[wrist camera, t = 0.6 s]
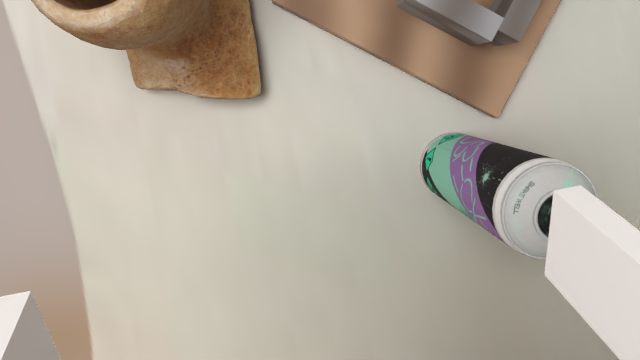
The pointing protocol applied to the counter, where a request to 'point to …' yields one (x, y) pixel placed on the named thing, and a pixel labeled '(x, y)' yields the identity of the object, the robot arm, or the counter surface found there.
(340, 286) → the counter surface
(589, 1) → the counter surface
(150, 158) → the counter surface
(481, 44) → the socket board
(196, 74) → the tan boot-shaped piece
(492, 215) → the spray can
